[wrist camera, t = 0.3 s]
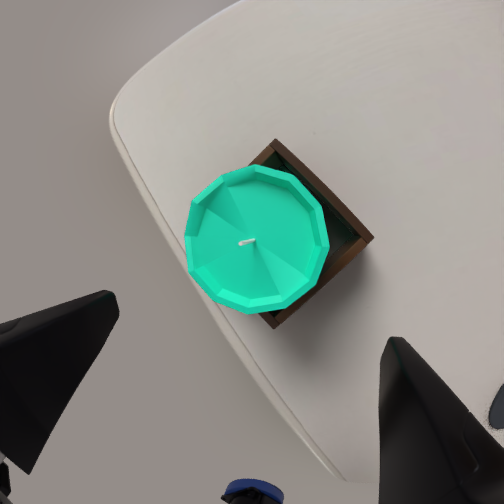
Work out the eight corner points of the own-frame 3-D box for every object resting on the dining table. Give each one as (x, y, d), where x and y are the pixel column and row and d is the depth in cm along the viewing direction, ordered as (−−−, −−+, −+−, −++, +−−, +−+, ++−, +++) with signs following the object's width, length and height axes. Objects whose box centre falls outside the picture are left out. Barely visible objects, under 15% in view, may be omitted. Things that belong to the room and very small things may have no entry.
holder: (281, 311, 22) (273, 329, 18) (206, 231, 23) (184, 233, 19) (364, 234, 20) (374, 237, 16) (283, 152, 21) (275, 137, 17)
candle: (325, 195, 20) (335, 157, 9) (320, 276, 21) (321, 337, 9) (246, 191, 21) (167, 158, 10) (242, 269, 22) (162, 315, 11)
